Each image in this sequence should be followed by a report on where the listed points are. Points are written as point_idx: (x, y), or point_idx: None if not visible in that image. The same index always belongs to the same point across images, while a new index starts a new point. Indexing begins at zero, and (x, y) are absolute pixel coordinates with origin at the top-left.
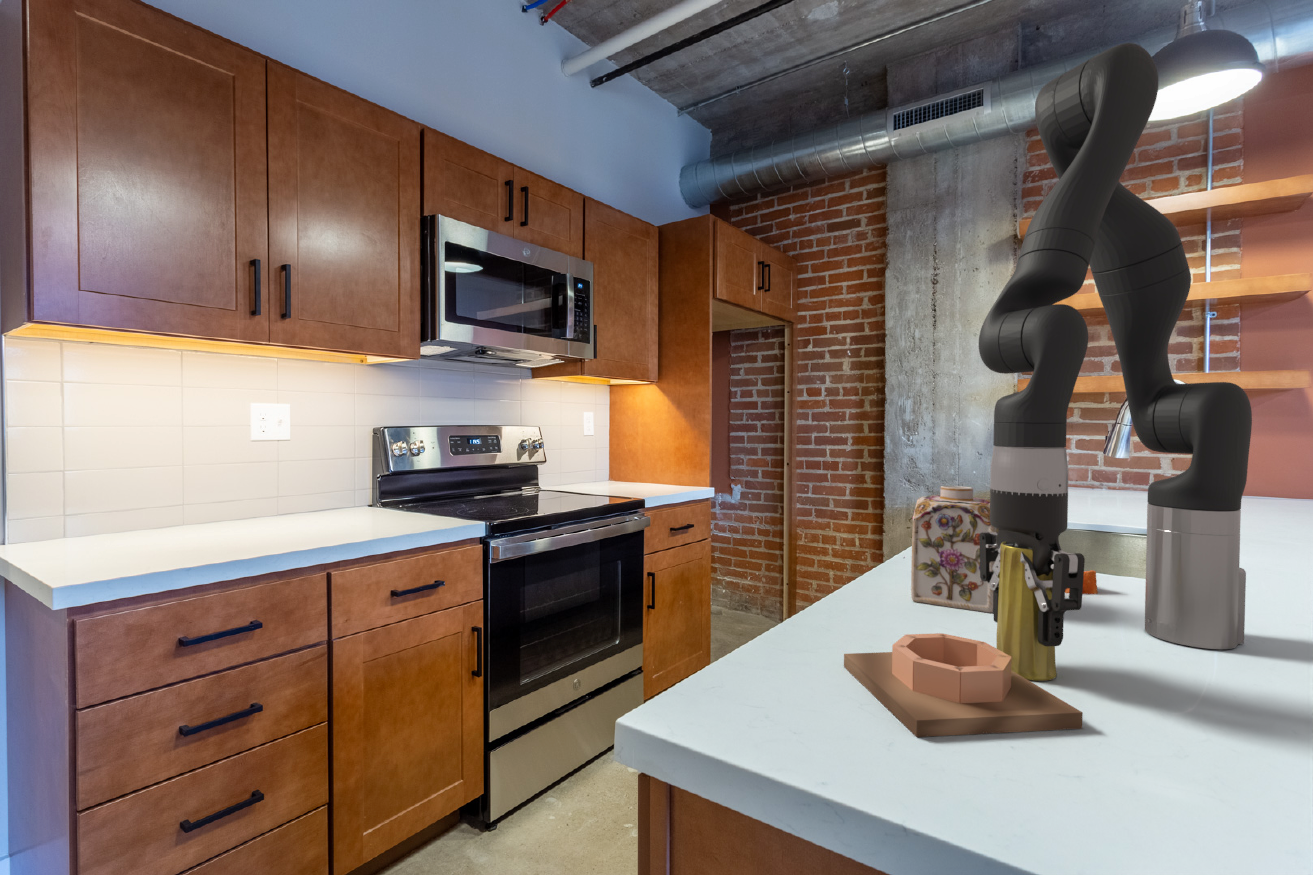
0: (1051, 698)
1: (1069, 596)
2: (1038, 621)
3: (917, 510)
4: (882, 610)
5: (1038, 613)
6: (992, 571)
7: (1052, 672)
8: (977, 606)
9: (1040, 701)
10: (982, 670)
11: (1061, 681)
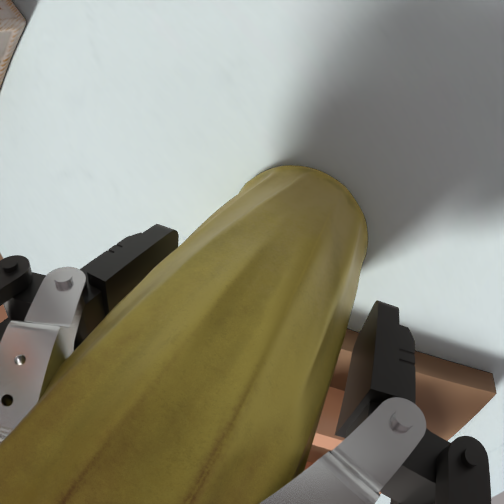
0: (448, 391)
1: (437, 491)
2: (343, 400)
3: None
4: (13, 211)
5: (337, 424)
6: (8, 313)
7: (363, 234)
8: (10, 46)
9: (440, 410)
10: (380, 492)
11: (379, 214)
